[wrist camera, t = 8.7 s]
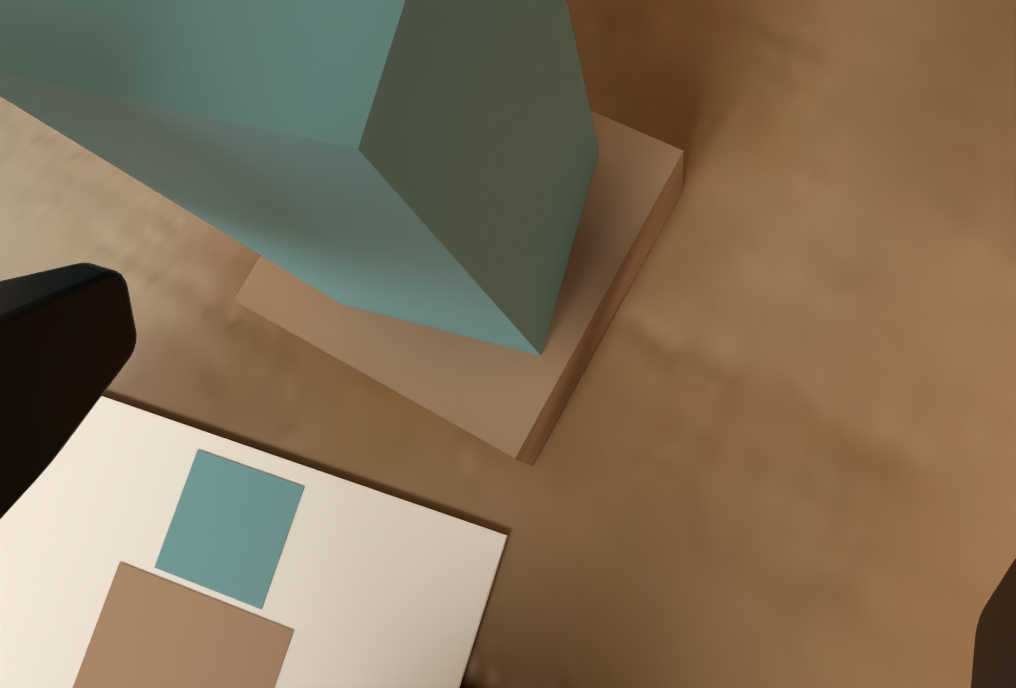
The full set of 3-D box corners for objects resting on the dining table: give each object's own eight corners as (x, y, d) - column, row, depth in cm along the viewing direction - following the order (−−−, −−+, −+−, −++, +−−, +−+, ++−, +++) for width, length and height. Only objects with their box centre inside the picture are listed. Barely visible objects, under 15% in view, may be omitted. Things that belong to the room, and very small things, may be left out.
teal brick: (541, 355, 20) (357, 149, 9) (340, 304, 21) (-61, 58, 10) (599, 150, 21) (502, -302, 9) (401, 110, 22) (92, -338, 10)
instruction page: (374, 956, 21) (371, 960, 20) (-97, 730, 24) (-104, 732, 24) (507, 535, 22) (506, 535, 22) (44, 375, 25) (38, 374, 25)
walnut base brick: (535, 466, 23) (514, 458, 20) (285, 326, 25) (234, 300, 22) (682, 197, 23) (683, 150, 21) (427, 82, 25) (395, 25, 23)
